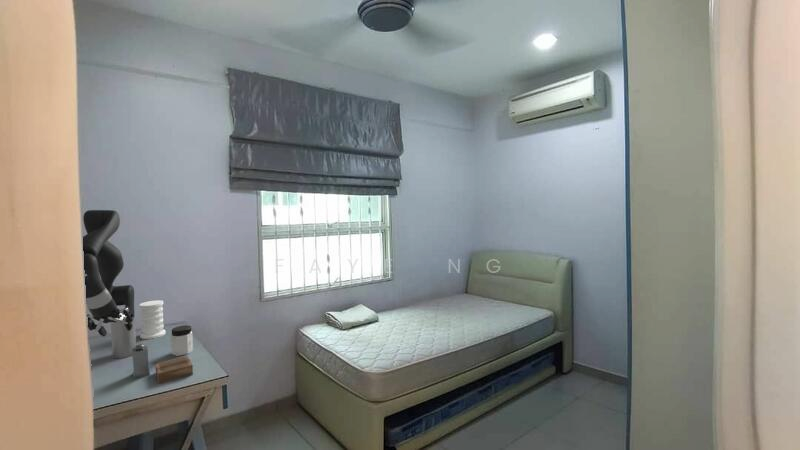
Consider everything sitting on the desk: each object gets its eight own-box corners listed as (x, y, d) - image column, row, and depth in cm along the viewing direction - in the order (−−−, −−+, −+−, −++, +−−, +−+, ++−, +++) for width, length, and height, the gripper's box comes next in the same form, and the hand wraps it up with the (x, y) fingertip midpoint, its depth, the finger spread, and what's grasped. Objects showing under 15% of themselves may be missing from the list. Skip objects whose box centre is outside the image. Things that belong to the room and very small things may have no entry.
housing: (132, 374, 152) (131, 345, 151) (148, 370, 155) (147, 341, 154) (133, 379, 147) (131, 349, 146) (149, 374, 151) (148, 345, 150)
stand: (155, 372, 153) (155, 363, 152) (188, 364, 160) (187, 355, 160) (158, 383, 143) (158, 373, 143) (192, 374, 151) (192, 365, 151)
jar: (185, 356, 169) (184, 331, 168) (168, 356, 169) (167, 331, 168) (196, 348, 178) (195, 324, 177) (179, 348, 178) (178, 325, 177)
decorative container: (167, 330, 204) (165, 299, 203) (163, 337, 194) (162, 304, 193) (142, 333, 199) (141, 301, 198) (138, 340, 189) (136, 307, 188)
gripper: (124, 290, 137) (141, 320, 145) (80, 298, 133) (100, 329, 142) (118, 303, 131) (135, 334, 139) (71, 312, 127) (92, 343, 135)
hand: (117, 331), depth 140 cm, fingers open, 8 cm apart
